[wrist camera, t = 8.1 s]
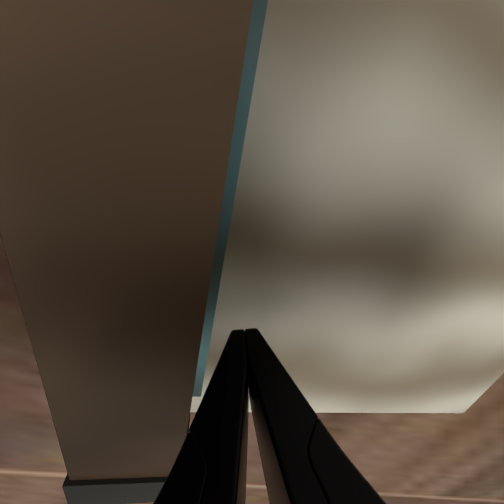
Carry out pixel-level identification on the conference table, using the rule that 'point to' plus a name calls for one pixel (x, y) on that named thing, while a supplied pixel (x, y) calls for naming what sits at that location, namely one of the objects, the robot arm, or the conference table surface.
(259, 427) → the robot arm
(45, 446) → the conference table surface
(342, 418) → the conference table surface
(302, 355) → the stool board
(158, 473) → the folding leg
